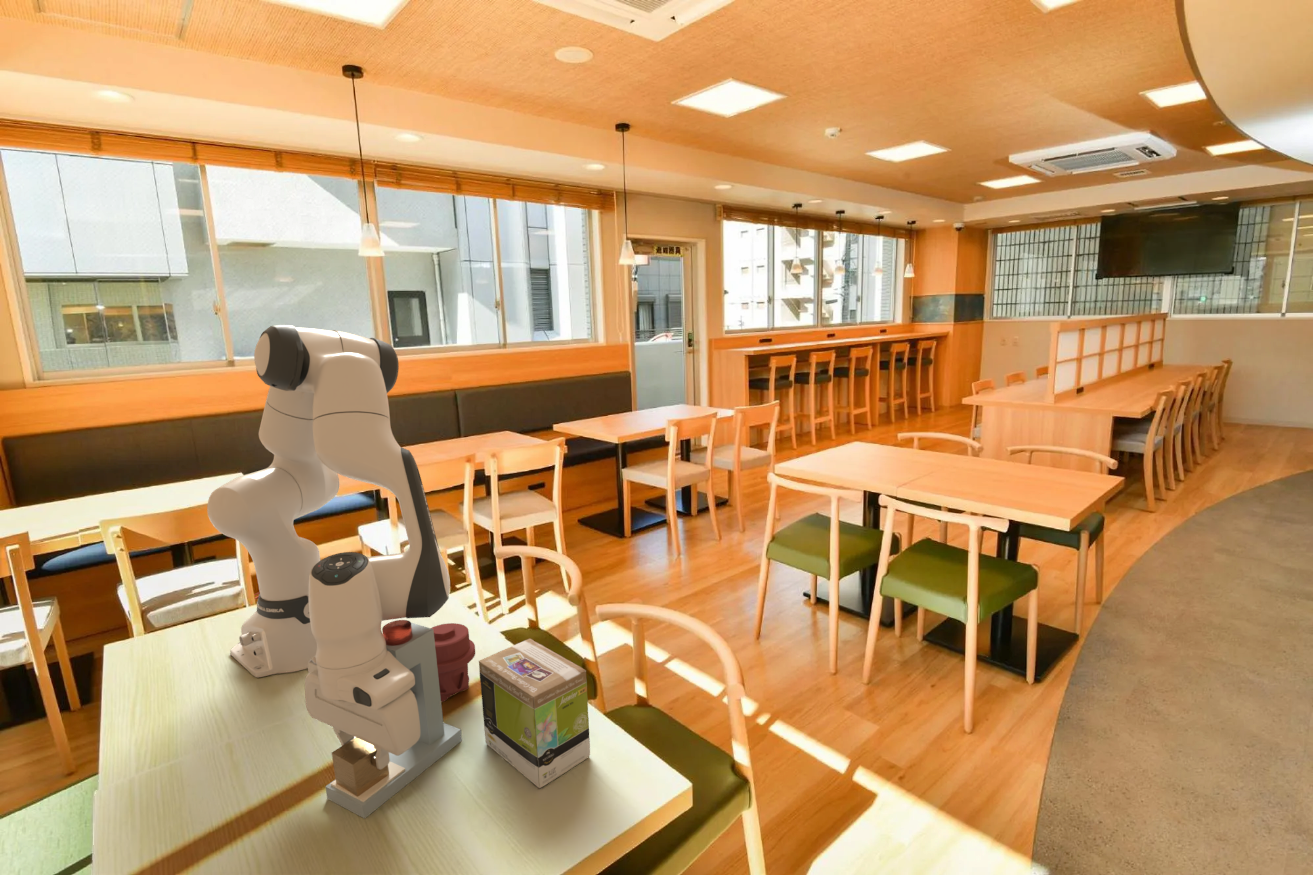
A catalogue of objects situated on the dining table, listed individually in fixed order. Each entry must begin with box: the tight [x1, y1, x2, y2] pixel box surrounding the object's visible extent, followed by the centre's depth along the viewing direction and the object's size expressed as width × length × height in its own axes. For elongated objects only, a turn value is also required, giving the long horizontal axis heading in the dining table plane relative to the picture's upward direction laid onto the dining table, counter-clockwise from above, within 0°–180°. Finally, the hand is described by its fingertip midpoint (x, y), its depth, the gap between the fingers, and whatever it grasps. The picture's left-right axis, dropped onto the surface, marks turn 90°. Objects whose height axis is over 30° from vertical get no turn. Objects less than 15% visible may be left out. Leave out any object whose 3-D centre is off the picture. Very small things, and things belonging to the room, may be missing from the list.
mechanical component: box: [430, 622, 476, 703], centre depth 116 cm, size 12×10×10 cm
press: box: [324, 622, 463, 819], centre depth 96 cm, size 8×18×20 cm, turn 151°
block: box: [331, 738, 389, 797], centre depth 92 cm, size 5×5×5 cm
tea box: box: [478, 638, 591, 789], centre depth 100 cm, size 15×10×15 cm
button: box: [381, 619, 415, 696], centre depth 97 cm, size 4×4×12 cm
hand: (366, 758), depth 93 cm, fingers closed on block, 5 cm apart
